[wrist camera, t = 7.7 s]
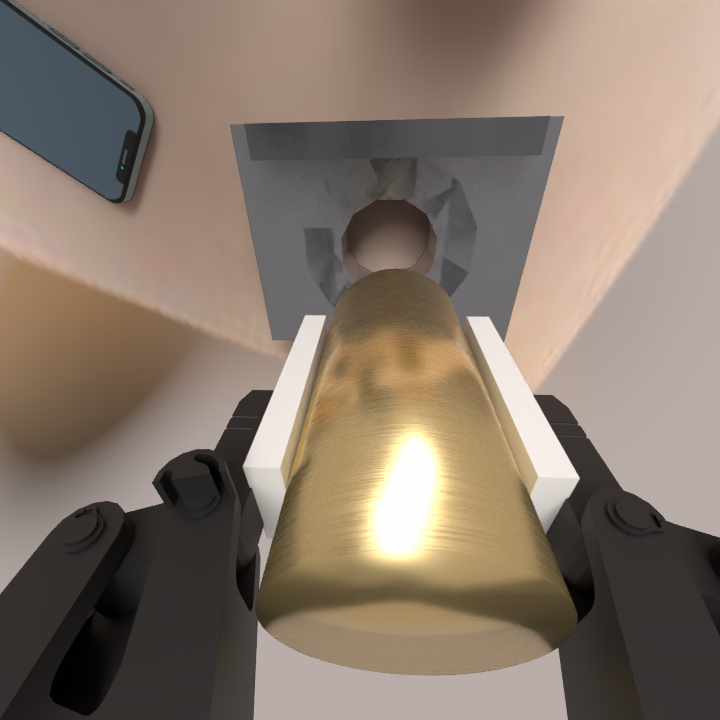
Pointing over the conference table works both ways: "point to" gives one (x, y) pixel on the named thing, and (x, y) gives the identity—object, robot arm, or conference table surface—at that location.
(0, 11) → the smartphone
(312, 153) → the jig
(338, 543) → the brass cylinder rod
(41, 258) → the conference table surface
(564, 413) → the robot arm
